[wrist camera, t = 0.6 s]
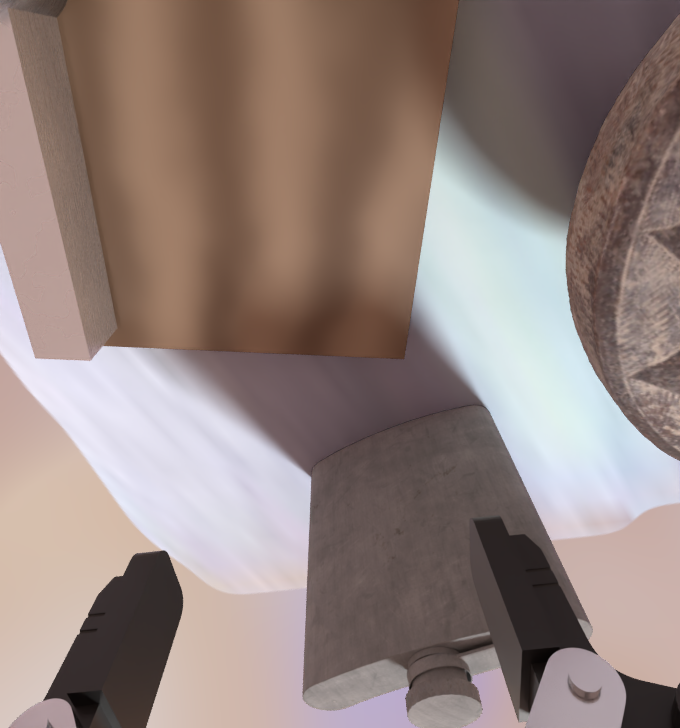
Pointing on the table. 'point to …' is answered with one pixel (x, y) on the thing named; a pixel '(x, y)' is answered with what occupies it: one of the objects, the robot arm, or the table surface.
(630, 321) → the ceramic pot
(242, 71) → the lock board
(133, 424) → the table surface
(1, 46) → the bar
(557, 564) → the hip flask
